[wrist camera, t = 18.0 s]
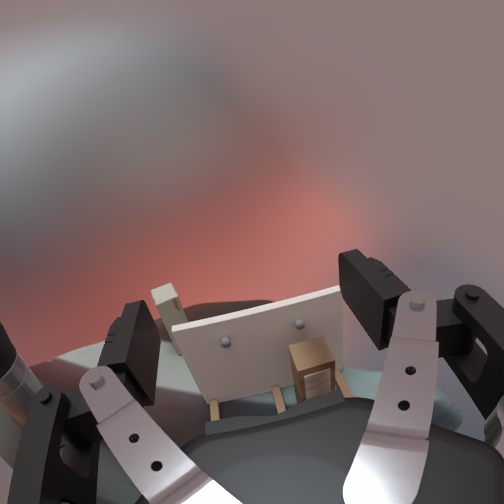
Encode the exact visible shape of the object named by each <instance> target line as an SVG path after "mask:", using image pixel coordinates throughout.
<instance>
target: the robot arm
mask: <svg viewBox="0 0 504 504" xmlns="http://www.w3.org/2000/svg"><path fill="white" fill-rule="evenodd" d="M338 261H339V278H340V279H339V280H340V281H339V282H340V291H341V294H342V297H343V299H344V301H345V302H346V303H347V305H348V306H349V308H350V309H351V310H352V312H353V313H354V315H355V316H356V318H357V319H358V321H359V322H360V324H361V325H362V326H363V328H364V329H365V331H366V332H367V334H368V335H369V337H370V338H371V340H372V341H373V343H374V344H375V345H376V347H377V349H378V350H382V349H385V348H388V352H387V356H386V361H385V365H384V369H383V373H382V376H381V380H380V384H379V388H378V391H377V395H376V398H375V400H372V399H367V398H359V397H347V398H343V396H342V394H341V391H340V389H338V390H335V391H332V392H329V393H326V394H323V395H320V396H316V397H313V398H310V399H307V400H305V401H303V402H301V403H299V404H297V405H295V406H293V407H291V408H289V409H287V410H285V411H283V412H281V413H279V414H277V415H274V416H236V417H231V418H226V419H220V420H214V421H208V422H205V431H206V432H203V433H201V434H199V435H197V436H195V437H193V438H192V439H190V440H189V441H187V442H186V443H185V444H184V445H182V446H181V447H180V448H178V447H177V445H176V444H175V443H174V442H173V441H172V440H171V439H170V438H169V437H168V436H167V435H166V434H165V433H164V432H163V431H162V430H161V428H160V427H159V426H158V425H157V424H156V423H155V422H154V421H153V420H152V418H151V417H150V416H149V415H148V414H147V413H146V411H145V410H144V409H143V407H144V406H150V405H154V399H155V389H156V379H157V369H158V360H159V352H160V343H161V341H160V335H159V331H158V329H157V326H156V324H155V322H154V320H153V318H152V316H151V314H150V311H149V309H148V307H147V305H146V303H145V301H144V300H141V301H136V302H131V303H127V304H126V305H125V307H124V310H123V313H122V316H121V317H118V318H117V319H116V320H115V321H114V322H113V324H112V325H111V326H110V329H109V331H108V334H107V336H108V337H107V338H106V340H105V344H104V346H103V349H102V352H101V356H100V359H99V362H98V365H97V367H95V368H92V369H91V370H89V371H88V372H87V373H85V375H84V376H83V377H82V379H81V381H80V384H79V387H78V388H75V389H72V390H70V391H67V392H64V393H63V391H62V390H61V389H60V388H59V387H58V386H57V385H54V384H50V385H46V386H43V385H42V384H41V382H40V381H39V380H38V379H37V377H36V376H35V375H34V374H33V372H32V371H31V370H30V368H29V367H28V366H27V364H26V363H25V362H24V360H23V359H22V357H21V356H20V355H19V353H18V352H17V350H16V349H15V348H14V346H13V344H12V343H11V341H10V339H9V337H8V335H7V333H6V331H5V329H4V327H3V325H2V324H1V322H0V406H1V407H2V409H3V410H4V412H5V413H6V414H7V415H8V416H9V417H10V418H11V419H12V420H13V421H14V422H15V423H16V424H17V425H18V426H19V427H20V428H21V429H22V430H23V433H22V437H21V441H20V445H19V448H18V452H17V457H16V461H15V465H14V470H13V475H12V480H11V485H10V491H9V496H8V503H7V504H96V491H97V474H98V461H99V450H100V441H101V440H103V439H104V440H105V441H106V443H107V445H108V446H109V448H110V449H111V451H112V452H113V454H114V455H115V457H116V458H117V460H118V461H119V463H120V464H121V466H122V467H123V469H124V470H125V471H126V473H127V474H128V475H129V477H130V478H131V480H132V481H133V482H134V484H135V485H136V486H137V488H138V489H139V490H140V491H141V493H142V495H141V497H140V498H139V499H138V500H137V501H136V503H135V504H504V308H503V307H502V306H501V305H499V304H498V303H497V302H496V301H495V300H494V299H493V298H492V297H491V296H490V295H489V294H488V293H487V292H485V291H484V290H483V289H481V288H480V287H478V286H475V285H462V286H460V287H458V288H457V289H456V291H455V295H454V299H447V300H439V301H436V300H435V299H434V297H433V296H432V295H430V294H428V293H426V292H423V291H411V290H410V289H409V288H408V287H407V286H406V285H405V284H404V283H403V282H402V281H401V280H400V279H399V278H398V277H397V276H395V275H394V274H393V272H392V271H391V270H388V268H387V267H386V266H385V265H384V264H383V263H382V262H380V261H378V260H375V259H374V258H371V257H370V258H366V257H365V256H364V255H363V254H362V253H361V252H360V251H359V250H358V249H354V250H350V251H347V252H343V253H340V254H339V258H338ZM476 338H478V339H479V340H480V341H481V343H482V344H483V345H484V346H485V348H486V350H487V355H488V356H487V355H486V354H485V353H484V351H483V350H482V349H481V348H480V347H479V346H478V344H477V343H476V342H475V341H476ZM440 357H443V358H444V359H445V361H446V362H447V363H448V365H449V366H450V368H451V369H452V370H453V372H454V373H455V375H456V376H457V378H458V379H459V380H460V382H461V383H462V385H463V386H464V388H465V389H466V391H467V392H468V394H469V395H470V397H471V398H472V400H473V401H474V403H475V405H476V406H477V407H478V409H479V411H480V412H481V414H482V416H483V417H484V419H485V420H486V422H485V424H484V434H485V442H483V441H480V440H478V439H475V438H472V437H469V436H466V435H462V434H460V433H457V432H454V431H451V430H449V429H446V428H443V427H441V426H438V425H435V424H433V423H431V418H432V411H433V404H434V396H435V388H436V378H437V367H438V358H440ZM64 444H65V446H64V451H63V458H62V459H61V457H60V452H59V450H60V447H61V446H63V445H64Z"/></svg>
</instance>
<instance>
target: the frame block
mask: <svg viewBox="0 0 504 504" xmlns="http://www.w3.org/2000/svg"><path fill="white" fill-rule="evenodd" d="M288 348H289V354H290V361H291V367H292V373H293V380H294V386H295V393H296V399H297V402H298V404H299V403H301V402H303V401H305V400H307V399H310V398H313V397H316V396H320V395H323V394H326V393H329V392H332V391H335V359H334V357H333V355H332V353H331V351H330V349H329V347H328V345H327V343H326V341H325V339H324V337H323V336H320V337H317V338H313V339H310V340H306V341H303V342H299V343H296V344H292V345H288Z"/></svg>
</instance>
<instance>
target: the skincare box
mask: <svg viewBox="0 0 504 504" xmlns="http://www.w3.org/2000/svg"><path fill="white" fill-rule="evenodd" d="M151 293H152V296H153V299H154V301H155V304H156V306H157V309H158V311H159V313H160V316H161V318H162V320H163V323H164V325H165V327H166V329H167V331H168V333H169V335H170V338H171V340H172V342H173V344H174V346H175V348H176V350H177V352H178V354H179V355H181V354H182V353H181V351H180V349H179V347H178V345H177V343H176V340H175V338H174V336H173V334H172V326H174V325H179V324H184V323H188V320H187V318H186V315H185V313H184V310H183V308H182V305H181V303H180V300H179V297H178V295H177V292H176V290H175V288H174V287H173V285H172V284H171V283H169V284H166V285H164V286H161V287H158V288H156V289H153V290H151Z"/></svg>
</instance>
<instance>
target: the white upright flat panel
mask: <svg viewBox="0 0 504 504" xmlns="http://www.w3.org/2000/svg"><path fill="white" fill-rule="evenodd" d="M342 298H343V297H342V294H341V291H340V286H339V285H338V286H334V287H331V288H328V289H323V290H320V291H316V292H313V293H309V294H305V295H301V296H298V297H294V298H290V299H286V300H282V301H278V302H274V303H270V304H266V305H262V306H258V307H254V308H250V309H246V310H242V311H238V312H233V313H229V314H225V315H220V316H216V317H211V318H207V319H202V320H198V321H193V322H189V323H184V324H179V325H174V326H172V334H173V336H174V338H175V340H176V343H177V345H178V347H179V349H180V351H181V353H182V355H183V358H184V360H185V362H186V364H187V366H188V368H189V370H190V372H191V374H192V376H193V378H194V380H195V382H196V384H197V386H198V388H199V390H200V392H201V394H202V396H203V397H204V399H205V401H206V403H207V405H208V404H210V412H211V421H214V420H220V419H221V411H220V404H219V402H225V401H230V400H235V399H240V398H244V397H249V396H253V395H258V394H262V393H266V392H270V391H272V393H273V397H274V400H275V404H276V408H277V412H278V414H279V413H281V412H283V411H285V410H286V408H285V405H284V401H283V398H282V395H281V391H280V389H282V388H286V387H290V386H293V385H294V380H293V373H292V367H291V361H290V354H289V348H288V345H292V344H296V343H299V342H303V341H306V340H310V339H313V338H317V337H320V336H323V337H324V339H325V341H326V343H327V345H328V347H329V349H330V351H331V353H332V355H333V357H334V359H335V385H336V387H337V389H340V391H341V394H342V396H343V398H347V397H353V395H352V393H351V391H350V389H349V387H348V385H347V383H346V381H345V379H344V377H343V375H342V373H341V372H340V371H342V368H343V299H342Z"/></svg>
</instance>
